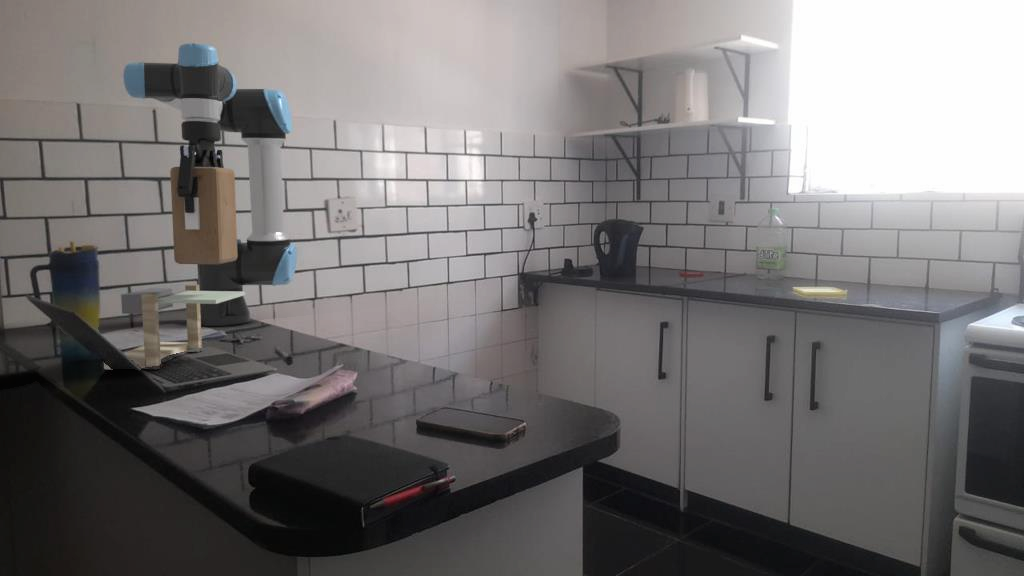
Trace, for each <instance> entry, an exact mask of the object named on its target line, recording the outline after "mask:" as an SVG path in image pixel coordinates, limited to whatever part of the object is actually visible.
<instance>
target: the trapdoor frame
mask: <svg viewBox="0 0 1024 576" xmlns="http://www.w3.org/2000/svg"><path fill="white" fill-rule="evenodd" d="M184 288H185V289H184V291H185V290H190V291H199V285H198V284H190V283H189V284H188V283H187V284H186V285H184ZM141 298H142V314H141V315H142V330H143V331H142V332H143V334H142V335H143V345H141V346H139V347H137V348H133V349H131V350H127V351H125V352H123V353H124V354H125V355H126V356H128V357H129V358H130V359H131V360H133V361H134V362H135V363H136V364H138V365H139V366H140V367H141V368H145V367H152V366H159V365H160V364H161V359H162V358H164V357H166V356H169V355H172V354H176V353H180V352H184V351H187V350H193V349H199V348H202V349H203V343H202V341H203V339H202V327H201V326H202V325H201V316H200V304H194V303H185V309H186V310H185V312H186V329H187V330H186V331H187V342H178V341H175V342H173V341H172V342H171V341H160V337H161V336H160V321H159V319H160V318H159V310H158V297H157V294H144V295H141ZM161 365H162V364H161ZM103 369H104V370H112V369H111V368H110V367H109V366H108V365H106V364H105V363H104V362H103Z"/></svg>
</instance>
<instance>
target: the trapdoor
mask: <svg viewBox="0 0 1024 576" xmlns="http://www.w3.org/2000/svg"><path fill="white" fill-rule="evenodd" d="M144 294H157V297H158V311H160V310H162V311H163V310H164V309H169V308H171V307H172V308H173V307H174V304H186V303H194V304H217V303H220V302H224V301H227V300H230V299H234V298H237V297H240V296H246V291H243V292H242V291H190V290H185V289H184V290H182V291H178V292H174V293H173V288H160V287H159V288H157V287H155V288H154V287H153V288H152V287H150V288H145V289H140V290H137V291H132V292H126V293H122V294H120V298H121V299H120V300H121V313H122V314H125V315H126V314H127V315H129V314H131V315H133V314H135V315H142V298H141V295H144Z"/></svg>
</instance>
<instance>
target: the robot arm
mask: <svg viewBox="0 0 1024 576" xmlns="http://www.w3.org/2000/svg"><path fill="white" fill-rule="evenodd" d="M177 55H178V56H177V57H178V59H177V63H168V62H167V63H166V62H165V63H164V62H144V61H141V62H129V63H127V64H126V65H125V67H124V69H123V84H124V88H125V91H126V92H127V94H128V95H129V96H130V97H132V98H137V99H143V100H145V99H153V100H155V101H159V102H161V103H162V104H165V105H166V106H170V108H171V107H172V108H173V109H176V110H178V111H180V113H181V114H180V115H181V116H180V117H181V119H182V120H184V121H182V123H181V138H182V140H183V141H187V142H188V145H184V144H183V145H182V144H181V145H179V154H180V159H179V160H180V161H179V166H178V167H179V176H178V186H177V192H178V196H179V197H184V208H185V229H200V216H199V197H196V194H197V190H198V181H197V177H193V174H194V167H218V168H225V166H224V162H223V150H222V149H216V146H215V143H216V142H217V143H218V142H220V141H221V140H222V132H226V133H240V134H241V140H242V141H243V142H244V144H246V145H247V154H248V155H247V157H248V175H249V197H250V198H249V200H250V214H251V215H250V217H251V233H250V234H249V235H248V236H247V237H246V243H245V244H243V243H242V241H241V239H239V238H237V260H235V261H232V262H227V263H222V264H196V265H197V285H199V291H242V292H244V291H243V286H273V287H275V286H284V285H288V284H290V283H291V282H292V281H293V279H294V276H295V273H296V268H297V261H298V252H297V251H298V249H297V246H296V245H295V244H294V243H291V237H290V236H289V235H288V234H287V233H286V232H285V222H284V201H283V200H284V199H283V179H282V178H283V177H282V173H283V172H282V153H281V152H282V150H281V149H282V148H281V147H282V144H284V143H285V142H286V140H287V138H286V135H287V134H288V135H289V134H291V132H292V130H293V126H292V125H293V121H292V114H291V110H290V105H289V102H288V99H287V97H286V96H285V94H284V92H282V91H281V90H279V89H278V90H277V89H267V88H238V84H237V83H238V82H237V80H236V77H235V76H234V74H233V73H232V72H230V70H229V69H228V68H226V67H225V66H222V65H220V64H219V62H220V60H219V57H218V56H219V55H218V51H217V49H216V48H215V47H214V46H213V45H209V44H204V43H192V42H190V43H183V44H181V45H179V48H178V54H177ZM244 296H245V295H244ZM244 296H240V297H237V298H234V299H230V300H227V301H224V302H220V303H217V304H200V316H201V326H202V325H203V326H206V327H207V326H208V327H219V326H223V327H225V326H233V325H241V324H246V323H249V322H250V321H251V314H250V310H249V307H248V304H247V301H246V298H245V297H244ZM203 326H202V327H203Z"/></svg>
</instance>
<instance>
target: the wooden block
mask: <svg viewBox="0 0 1024 576" xmlns="http://www.w3.org/2000/svg"><path fill="white" fill-rule="evenodd" d="M179 167H180V166H174V167H171V168H170V172H169V174H170V175H169V176H170V193H171V215H172V216H171V217H172V219H171V220H172V235H173V236H172V237H173V238H172V239H173V258H174V261H175V263H177V264H178V265H197V264H222V263H227V262H232V261H235V260H237V239H238V236H237V234H238V233H237V232H238V231H237V208H236V205H237V204H236V182H235V180H236V179H235V171H234V169H231V168H227V167H224V168H218V167H194V174H193V177H197V181H198V190H197V194H196V197H199V216H200V229H185V208H184V197H179V196H178V192H177V186H178V176H179Z"/></svg>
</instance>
